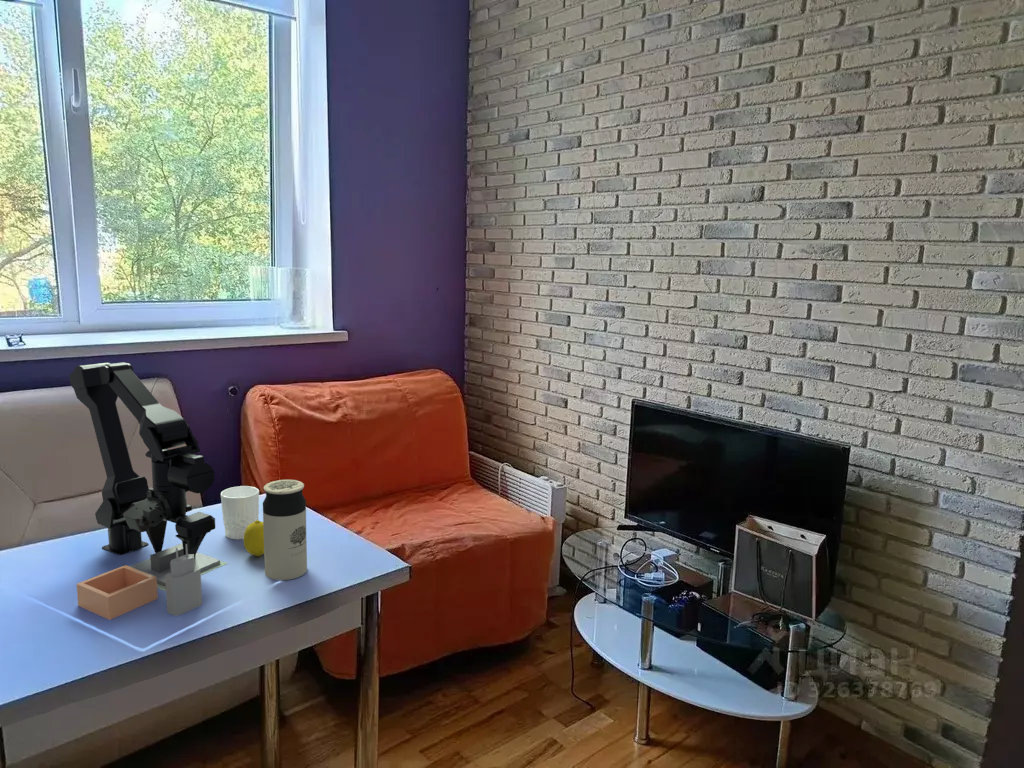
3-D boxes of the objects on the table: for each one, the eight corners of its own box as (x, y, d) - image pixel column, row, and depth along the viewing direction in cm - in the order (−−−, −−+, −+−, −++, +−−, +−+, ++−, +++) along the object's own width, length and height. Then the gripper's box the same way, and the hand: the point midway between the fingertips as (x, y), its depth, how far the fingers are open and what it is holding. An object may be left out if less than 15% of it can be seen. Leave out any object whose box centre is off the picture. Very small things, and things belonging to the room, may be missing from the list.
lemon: (263, 564, 146) (262, 526, 144) (238, 560, 147) (237, 523, 146) (277, 553, 151) (276, 517, 150) (253, 550, 152) (252, 514, 151)
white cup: (252, 542, 156) (251, 498, 154) (216, 541, 156) (214, 497, 154) (265, 528, 164) (264, 486, 162) (230, 527, 164) (229, 485, 162)
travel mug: (257, 571, 142) (254, 484, 139) (293, 560, 148) (291, 476, 145) (278, 585, 137) (275, 495, 134) (314, 572, 143) (313, 486, 140)
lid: (126, 571, 140) (125, 553, 139) (180, 550, 150) (180, 532, 149) (166, 587, 134) (165, 568, 133) (220, 563, 144) (219, 546, 144)
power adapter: (204, 605, 129) (201, 542, 126) (176, 618, 124) (172, 553, 122) (193, 601, 130) (189, 538, 128) (165, 613, 126) (161, 548, 123)
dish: (78, 607, 126) (76, 583, 126) (126, 587, 134) (125, 565, 133) (109, 621, 122) (107, 597, 121) (157, 600, 130) (156, 577, 129)
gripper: (98, 484, 136) (104, 561, 139) (162, 503, 127) (167, 585, 130) (152, 469, 146) (157, 542, 149) (215, 486, 137) (218, 563, 140)
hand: (173, 558), depth 142 cm, fingers open, 9 cm apart
